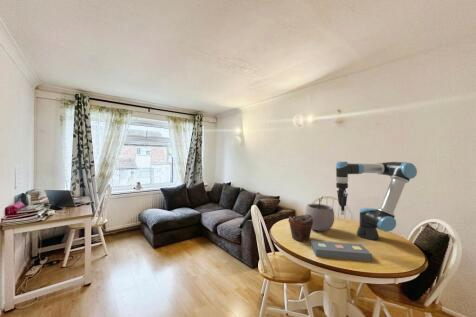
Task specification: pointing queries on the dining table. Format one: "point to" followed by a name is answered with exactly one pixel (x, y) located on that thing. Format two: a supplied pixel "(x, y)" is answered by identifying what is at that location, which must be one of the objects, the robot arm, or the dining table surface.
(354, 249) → the ochre button
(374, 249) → the dining table surface
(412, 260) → the dining table surface
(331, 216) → the plant pot
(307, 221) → the brown tapered container
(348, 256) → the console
